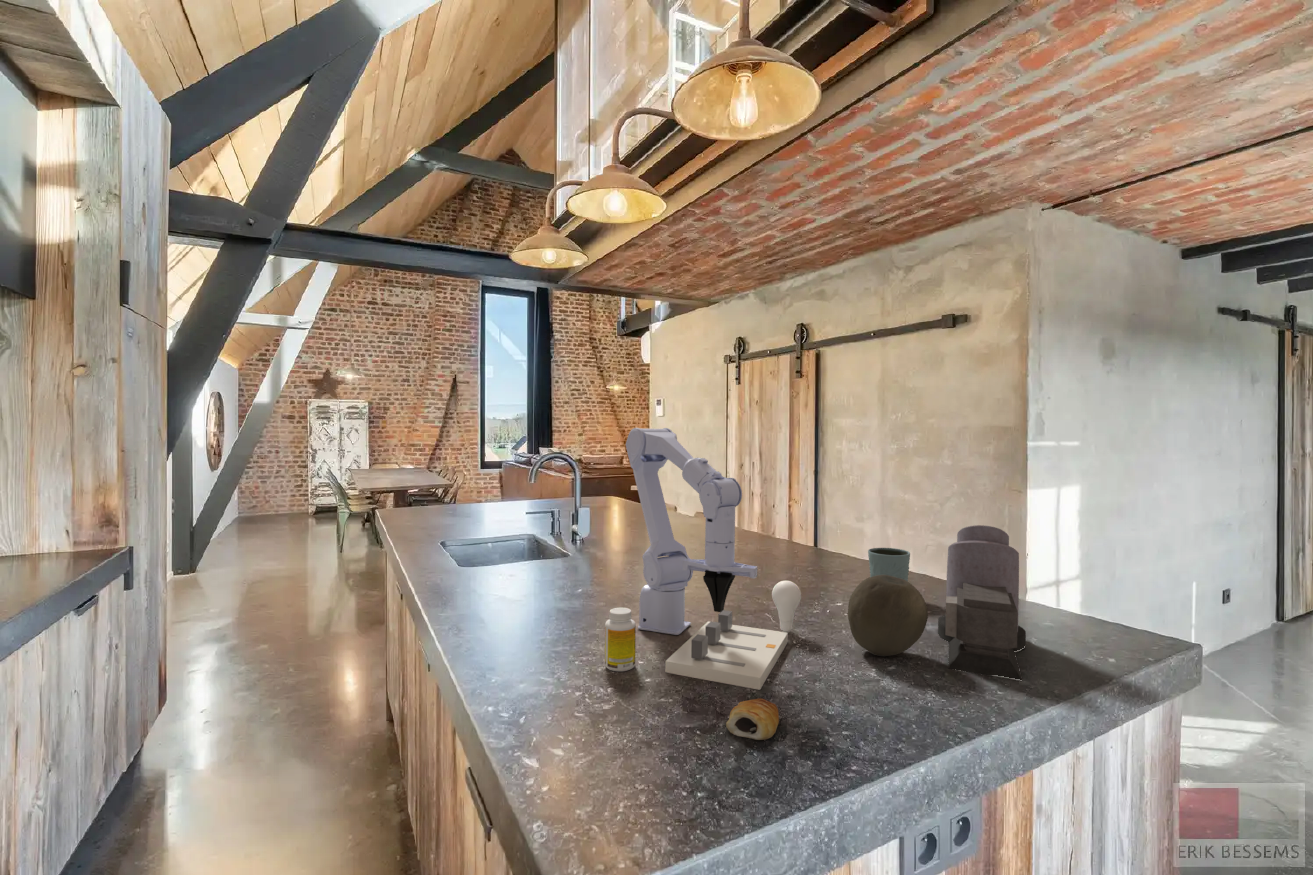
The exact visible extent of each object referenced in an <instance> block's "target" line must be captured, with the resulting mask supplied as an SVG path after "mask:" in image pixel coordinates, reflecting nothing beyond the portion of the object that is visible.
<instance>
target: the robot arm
mask: <svg viewBox="0 0 1313 875" xmlns="http://www.w3.org/2000/svg"><path fill="white" fill-rule="evenodd" d="M625 448H626V451H627V452H626V453H627V456H628V460H629V465H630V468H631V469H632V470H633V472H632V473H633V476H634V480H635V484H636V489H637V493H638V497H639V503H640V506H641V510H642V515H643V519H644V523H645V526H646V531H647V534H648V539H649V544H650V545H649V547H648V548H647V549H646V550H645V551H644V553H643V554H642V556H641V557H642V561H643V562H642V563H643V569H642V571H643V572H642V573H643V578H644V581H645V582H646V584H644V585H643V587H641V590H640V595H639V600H638V602H639V607H638V608H639V615H638V616H639V617H638V618H639V620H638V621H639V622H638V624H639V625H637V630H641V631H649V632H655V633H662V634H667V635H675V636H678V635H680V634H681V633H682V632H684V631H685V630H686V629H687V628H688V627H690V626H691V624H692V622H690V621H685V616H686V615H685V608H686V606H685V604H686V603H685V600H686V599H685V598H686V597H685V596H686V595H685V594H686V587H688V586H689V585H688V583H689V582H690V581H691V580H692V578H693V574H694V571H695V572H704V575H703V576H702V578H703V582H704V583H705V585H706V587H707V590H708V592H709V595H710V598H711V602H712V607H713V612H716V613H720V612H722V611H723V610H725V605H726V600H727V597H728V593H729V590H730V588H731V586H732V584H733V582H734V581H735V578H736V576H738V577H747V578H749V579H756V578H757V577H758V566H756V565H750V564H745V563H739V562H735V549H736V548H735V547H736V546H735V544H736V542H735V541H736V538H735V537H736V507H738V506H739V505H740V504H741V502H742V498H743V493H742V492H743V490H742V487H741V484H740V483H739V482H738V481H737V479H736V478H734V477H726V476H723V475H722V472H720V471H717V470H716V469H715V468H713V466H712V465H711V464H710V463H709V460H708V459H706V458H705V457H693V456H692V455H691V454H690V453H689V451H688V450H687V449H686V448H685V447H684V446H683V445H682V444H681V443H680V442H679V440H678V437H677V434H676V433H675V432H673V431H672V429H670V428H668V427H664V428H640V427H634V428H632V429H631V430H630V431H629V433H628V436H627V439H626V442H625ZM667 461H670V462H671V463H672V464H674V466H676V467H677V468H678V469H679V470H680V471H681V472H682V473H681V475H682V479H683V481H685V482H686V483H687V484H688V485H689V486H690V487H691V488H692V489H693V490H695V492H696V493H698V497H699V500H700V501H699V502H700V504H701V507H702V514H703V518H705V526H704V528H705V532H704V533H705V537H704V539H705V541H704V543H705V544H704V559H695V558H690V556H689V555H688V553H687V550H686V547H685V545H683V544H682V543H680V542H679V541H677V540H676V539H675V537H674V533H673V529H672V525H671V521H670V517H669V514H668V509H667V506H666V502H665V497H664V493H663V489H662V486H661V481H660V477H659V474H658V473H659V470H660V469H662V468H663V467H664V466H665V464H666V463H667Z"/></svg>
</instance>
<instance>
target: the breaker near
mask: <svg viewBox="0 0 1313 875" xmlns="http://www.w3.org/2000/svg"><path fill="white" fill-rule="evenodd" d="M707 654H708V636H705V635H699V634H697V635H696V636H695V637H694V638H693V639H692V646H691V658H695V659H701V660H702V659H703V658H704V657H705V656H706V655H707Z"/></svg>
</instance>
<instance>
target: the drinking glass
mask: <svg viewBox="0 0 1313 875" xmlns="http://www.w3.org/2000/svg"><path fill="white" fill-rule="evenodd" d="M867 555H868V563H869V564H868V565H869V574H870V575H869V577H873V576H876V575H889V576H894V577H897V578H901V579H904V580H906V581H907V582H909V570H910V562H911V561H910V560H911V559H910V558H911V553H910V551H909V550H905V549H901V548H894V547H873V548H869V549H868V550H867Z"/></svg>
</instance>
